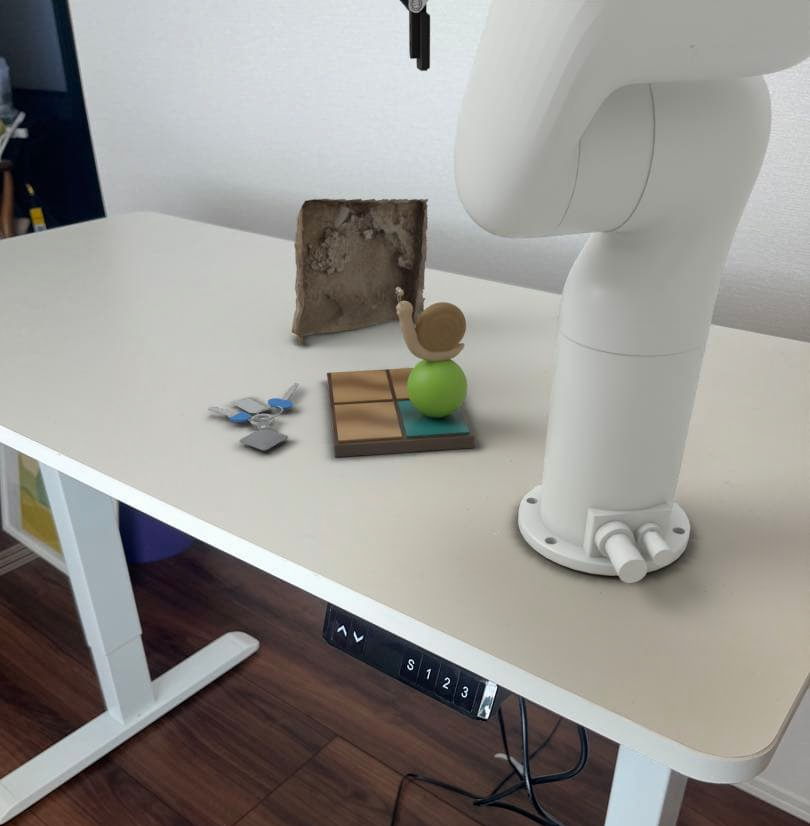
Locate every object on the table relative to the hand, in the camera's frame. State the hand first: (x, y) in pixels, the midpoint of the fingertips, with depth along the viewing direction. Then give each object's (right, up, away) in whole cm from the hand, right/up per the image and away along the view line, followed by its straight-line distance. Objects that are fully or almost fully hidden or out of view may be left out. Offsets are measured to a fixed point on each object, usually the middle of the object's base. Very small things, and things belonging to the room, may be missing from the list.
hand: (479, 67), depth 68 cm
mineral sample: (-12, -15, +29) cm, 35 cm away
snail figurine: (-4, -28, +7) cm, 29 cm away
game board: (-7, -27, +10) cm, 30 cm away
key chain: (-21, -28, +9) cm, 36 cm away
